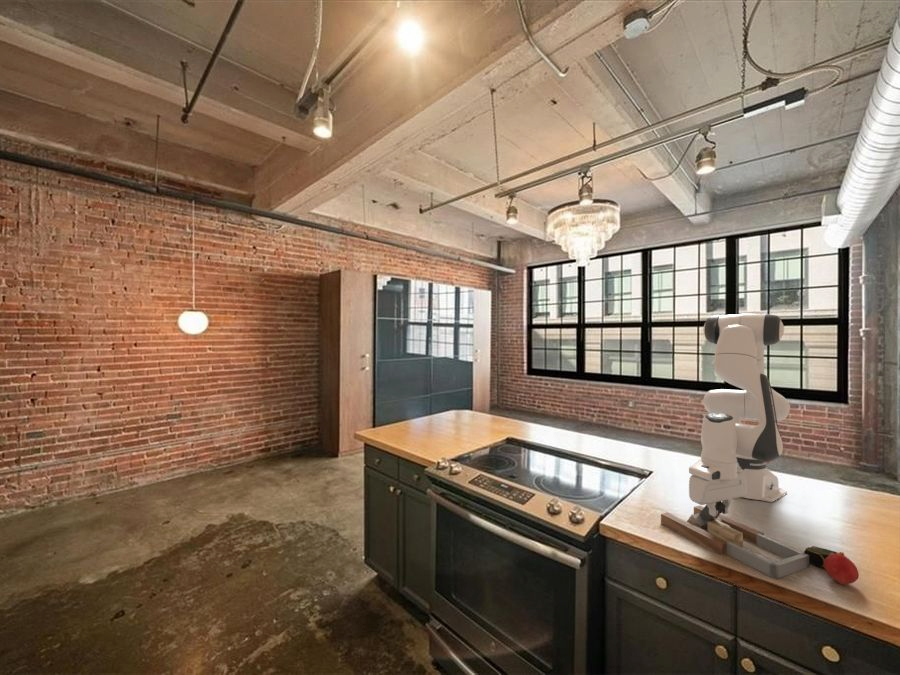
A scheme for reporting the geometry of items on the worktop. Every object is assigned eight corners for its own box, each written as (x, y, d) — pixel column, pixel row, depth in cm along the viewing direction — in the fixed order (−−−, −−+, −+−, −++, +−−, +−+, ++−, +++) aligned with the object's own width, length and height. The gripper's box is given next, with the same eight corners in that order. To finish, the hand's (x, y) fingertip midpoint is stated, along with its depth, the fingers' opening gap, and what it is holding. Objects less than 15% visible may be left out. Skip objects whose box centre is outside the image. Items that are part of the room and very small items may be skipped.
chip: (728, 539, 109) (728, 526, 109) (742, 547, 105) (742, 533, 105) (718, 542, 108) (718, 528, 108) (733, 549, 104) (733, 535, 104)
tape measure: (850, 568, 94) (846, 552, 95) (833, 573, 92) (829, 557, 93) (817, 558, 101) (813, 543, 101) (800, 563, 98) (797, 548, 99)
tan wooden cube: (716, 532, 113) (716, 519, 113) (730, 539, 109) (730, 525, 110) (707, 535, 112) (707, 521, 112) (720, 541, 108) (720, 528, 108)
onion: (817, 577, 92) (817, 545, 92) (837, 576, 93) (837, 544, 93) (843, 593, 86) (843, 559, 86) (865, 591, 87) (865, 557, 87)
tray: (759, 544, 107) (759, 533, 107) (809, 567, 96) (809, 555, 96) (726, 553, 102) (726, 542, 102) (775, 579, 91) (775, 566, 91)
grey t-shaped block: (706, 517, 119) (723, 495, 114) (716, 527, 116) (733, 505, 111) (686, 522, 116) (702, 499, 111) (695, 532, 113) (712, 510, 108)
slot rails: (700, 514, 125) (699, 505, 125) (763, 543, 107) (763, 533, 108) (660, 523, 119) (661, 513, 119) (721, 555, 101) (721, 544, 101)
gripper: (731, 461, 117) (731, 504, 117) (684, 468, 110) (684, 514, 110) (753, 467, 111) (753, 513, 111) (705, 475, 104) (705, 524, 104)
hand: (718, 514), depth 111 cm, fingers closed on grey t-shaped block, 3 cm apart
